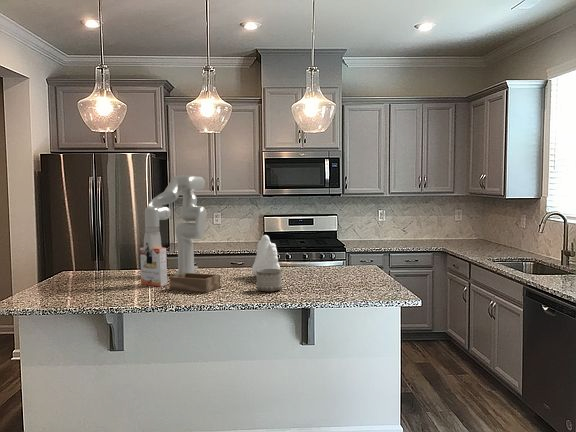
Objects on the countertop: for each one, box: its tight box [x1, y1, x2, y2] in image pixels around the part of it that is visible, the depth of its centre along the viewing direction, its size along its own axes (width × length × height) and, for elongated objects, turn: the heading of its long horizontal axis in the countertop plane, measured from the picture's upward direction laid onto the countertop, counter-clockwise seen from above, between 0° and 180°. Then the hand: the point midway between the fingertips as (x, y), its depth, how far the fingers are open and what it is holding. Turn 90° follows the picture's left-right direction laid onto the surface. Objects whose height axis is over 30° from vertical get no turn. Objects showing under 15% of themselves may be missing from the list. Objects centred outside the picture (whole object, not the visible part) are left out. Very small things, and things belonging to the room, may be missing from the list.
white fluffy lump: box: [251, 234, 281, 277], centre depth 295 cm, size 25×16×25 cm, turn 10°
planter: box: [256, 268, 282, 293], centre depth 263 cm, size 13×13×10 cm
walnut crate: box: [169, 272, 221, 294], centre depth 269 cm, size 14×22×7 cm, turn 67°
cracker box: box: [139, 246, 168, 288], centre depth 281 cm, size 14×6×21 cm, turn 62°
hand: (153, 262), depth 281 cm, fingers closed on cracker box, 6 cm apart
